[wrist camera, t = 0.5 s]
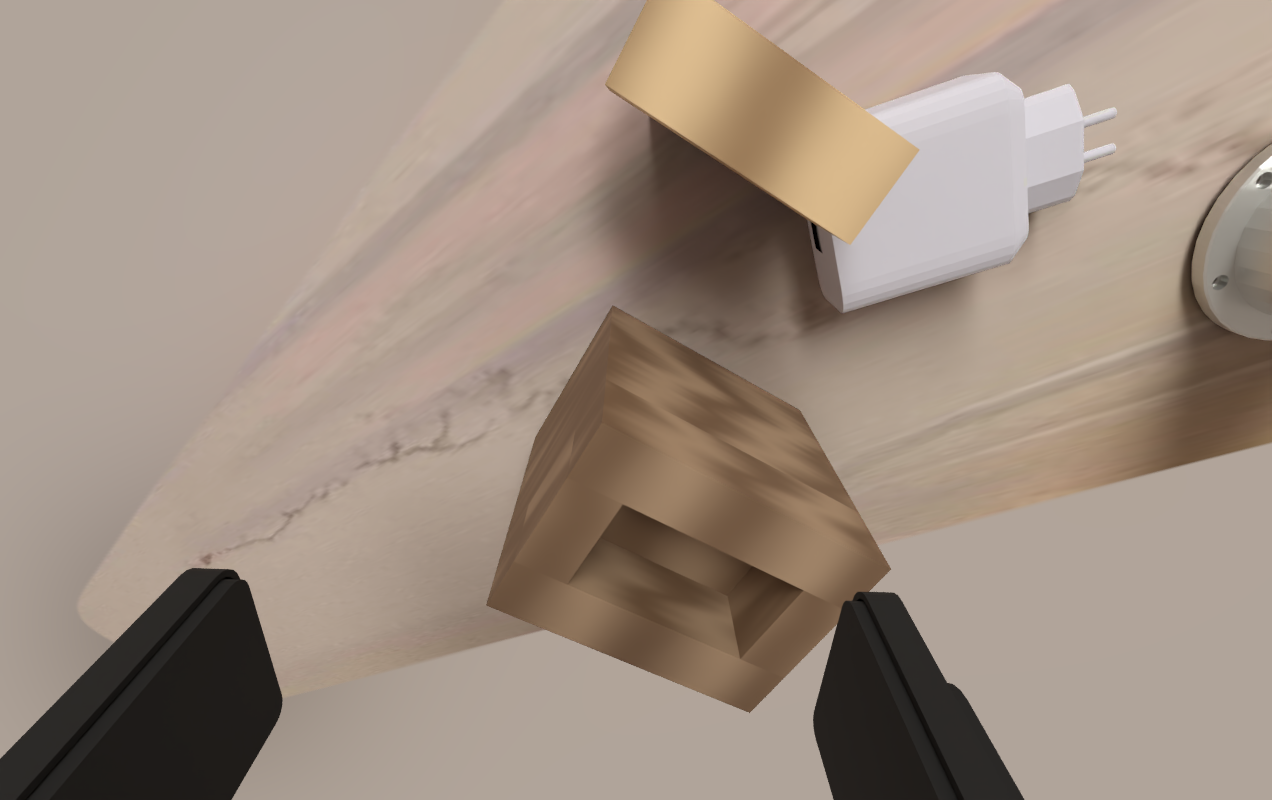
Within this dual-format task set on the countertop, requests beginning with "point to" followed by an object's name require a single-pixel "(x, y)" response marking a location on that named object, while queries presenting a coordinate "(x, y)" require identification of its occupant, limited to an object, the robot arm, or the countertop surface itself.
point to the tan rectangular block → (759, 113)
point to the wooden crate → (682, 521)
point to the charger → (960, 187)
